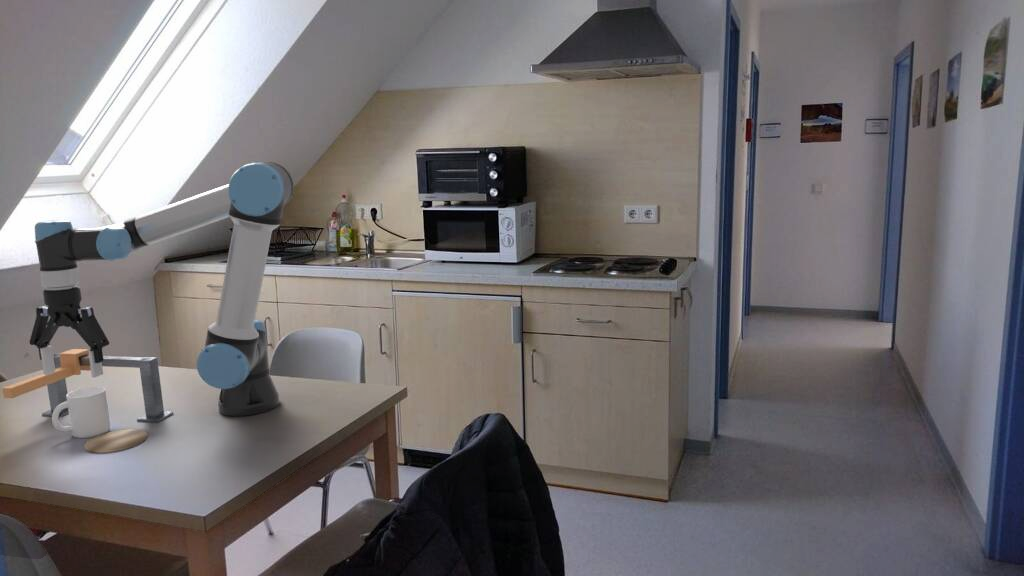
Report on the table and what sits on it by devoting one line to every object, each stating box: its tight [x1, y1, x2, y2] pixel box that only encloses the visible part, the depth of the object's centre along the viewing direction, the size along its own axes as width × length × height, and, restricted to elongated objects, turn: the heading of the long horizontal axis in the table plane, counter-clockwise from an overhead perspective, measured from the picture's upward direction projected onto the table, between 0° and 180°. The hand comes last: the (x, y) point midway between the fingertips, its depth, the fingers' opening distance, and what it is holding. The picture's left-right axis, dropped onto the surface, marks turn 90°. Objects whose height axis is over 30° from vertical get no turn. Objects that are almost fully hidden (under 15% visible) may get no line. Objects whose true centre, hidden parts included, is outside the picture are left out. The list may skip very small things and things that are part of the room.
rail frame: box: [41, 353, 174, 423], centre depth 195 cm, size 35×6×16 cm, turn 77°
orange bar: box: [1, 348, 91, 399], centre depth 187 cm, size 5×23×6 cm, turn 166°
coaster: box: [84, 428, 148, 454], centre depth 177 cm, size 13×13×1 cm
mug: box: [51, 386, 111, 439], centre depth 182 cm, size 12×8×10 cm
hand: (73, 374), depth 180 cm, fingers open, 13 cm apart
